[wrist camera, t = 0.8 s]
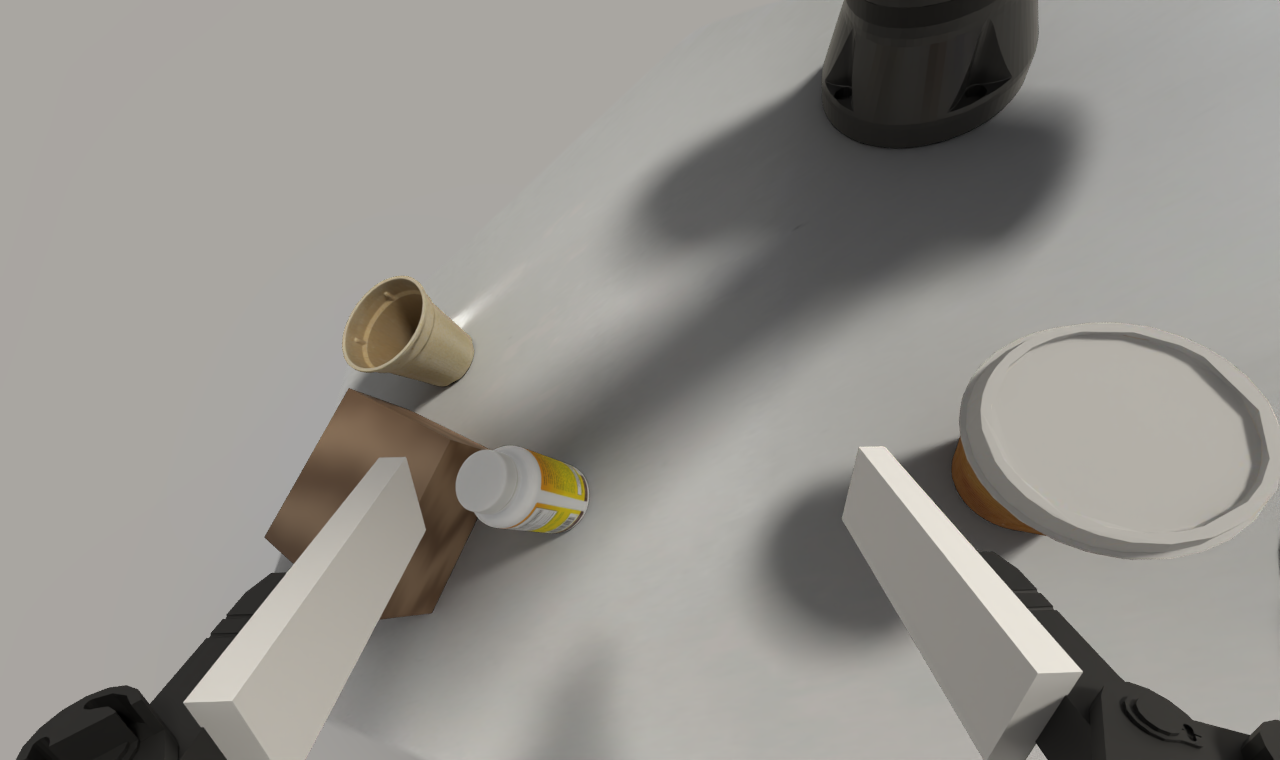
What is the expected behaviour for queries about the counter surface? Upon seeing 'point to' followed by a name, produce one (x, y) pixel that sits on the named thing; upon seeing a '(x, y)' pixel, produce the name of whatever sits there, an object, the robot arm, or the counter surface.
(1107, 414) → the disposable coffee cup
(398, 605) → the block
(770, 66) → the counter surface
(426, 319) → the flower pot
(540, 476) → the supplement bottle
